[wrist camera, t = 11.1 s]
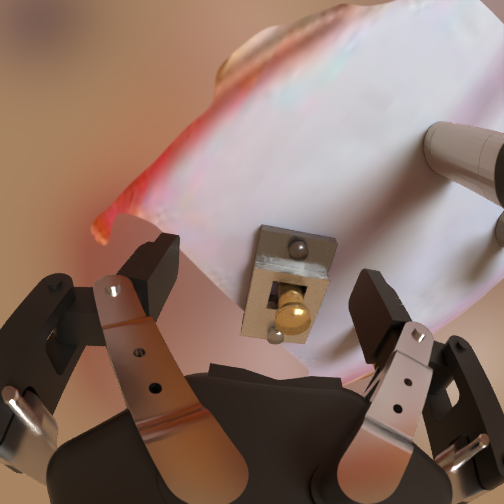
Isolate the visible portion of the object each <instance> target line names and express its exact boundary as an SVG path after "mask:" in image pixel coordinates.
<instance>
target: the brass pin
mask: <svg viewBox="0 0 504 504" xmlns="http://www.w3.org/2000/svg"><path fill="white" fill-rule="evenodd" d="M278 302H279V308H278V309H277V311H276V313H275V326H276V328H277V330H278V331H279V332H281V333H283V334H285V335H298V334H301V333H303V332H305V331H306V330H307V329H308V328H309V327H310V324H311V317H310V312H309V309H308V308H307V307H306V306H305V305H304V299H303V293H302V287H301V285H297V284H290V283H284V282H278Z"/></svg>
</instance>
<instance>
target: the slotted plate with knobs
mask: <svg viewBox="0 0 504 504" xmlns="http://www.w3.org/2000/svg"><path fill="white" fill-rule="evenodd" d="M337 245H338V243H337V241H336V239H335V238H330V237H325V236H320V235H315V234H310V233H305V232H300V231H295V230H289V229H284V228H279V227H273V226H268V225H262V227H261V232H260V237H259V242H258V246H257V251H256V256H255V261H254V266H253V271H252V276H251V281H250V286H249V291H248V296H247V302H246V308H245V313H244V315H243V322H242V328H241V335H242V336H248V337H255V338H261V339H267V340H268V342H269V343H271V344H280V343H282V342H291V343H299V344H305V342H306V340H307V337H308V335H309V333H310V330H311V328H312V325H313V323H314V320H315V318H316V316H317V313H318V310H319V308H320V305H321V303H322V300H323V298H324V295H325V292H326V290H327V287H328V284H329V282H330V279H329V276H328V272H329V269H330V266H331V263H332V260H333V257H334V254H335V251H336V248H337ZM273 281H278V282H284V283H290V284H297V285H301V287H302V293H303V299H304V305H305V306H306V307H307V308H308V309H309V312H310V317H311V324H310V327H309V328H308V329H307V330H306V331H305V332H303V333H301V334H298V335H285V334H283V333H281V332H279V331H278V330H277V328H276V326H275V313H276V311H277V309H278V308H279V302H278V296H275V295H270V291H271V287H272V283H273Z"/></svg>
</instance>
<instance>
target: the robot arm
mask: <svg viewBox="0 0 504 504" xmlns="http://www.w3.org/2000/svg"><path fill="white" fill-rule="evenodd" d="M424 154H425V158H426V161H427V163H428V165H429V166H430V167H431V169H432V170H433V171H435V172H436V173H438V174H440V175H442V176H444V177H446V178H448V179H450V180H452V181H454V182H456V183H458V184H460V185H462V186H464V187H466V188H468V189H470V190H472V191H474V192H476V193H477V194H479V195H481V196H483V197H485V198H486V199H488V200H490V201H492V202H494V203H495V204H497V205H499V206H500V207H502V208H504V133H501V132H497V131H492V130H488V129H483V128H478V127H473V126H468V125H463V124H457V123H451V122H437V123H435V124H434V125H432V126H431V127H430V128H429V130H428V131H427V133H426V136H425V139H424ZM179 247H180V237H179V235H174V234H169V233H161V234H160V235H159V237H158V238H157V239H156V240H155V242H147V243H145V244H143V245H141V246H139V247H138V249H137V250H136V251H135V252H134V254H132V256H131V257H130V259H128V260H127V262H126V263H125V264H124V265H123V266H122V268H121V269H120V270H119V271H118V273H117V274H116V275H107V276H104V277H102V278H100V279H98V280H97V281H96V282H95V283H94V286H93V287H74V286H73V281H72V278H71V277H70V276H69V275H67V274H63V273H56V274H52V275H49V276H47V277H45V278H43V279H42V280H41V281H40V282H39V283H38V284H37V286H36V287H35V288H34V289H33V290H32V291H31V293H29V295H28V296H27V297H26V298H25V299H24V300H23V302H22V303H21V304H20V305H19V306H18V308H17V309H16V310H15V311H14V312H13V314H12V315H11V316H10V317H9V319H8V320H7V321H6V323H5V324H4V325H3V327H2V328H1V329H0V463H1V464H4V465H5V466H7V467H8V468H10V469H11V470H13V471H14V472H16V473H24V474H26V475H27V476H29V477H31V478H33V479H34V480H36V481H38V482H39V483H41V484H43V485H45V486H47V490H48V494H49V498H50V503H51V504H467V503H469V502H471V501H473V500H475V499H477V498H479V497H480V496H482V495H484V494H486V493H487V492H489V491H491V490H493V489H495V488H496V487H498V486H500V485H501V484H503V483H504V414H503V411H502V409H501V406H500V404H499V402H498V399H497V397H496V395H495V393H494V391H493V389H492V386H491V384H490V382H489V380H488V378H487V376H486V374H485V372H484V370H483V368H482V366H481V364H480V362H479V360H478V358H477V356H476V355H475V353H474V351H473V349H472V347H471V346H470V345H469V343H468V342H467V341H466V340H464V339H463V338H461V337H459V336H455V335H453V336H451V337H450V338H449V340H448V341H447V342H446V344H443V343H439V342H437V341H434V339H433V335H432V333H431V332H430V330H429V329H428V328H427V327H425V326H424V325H422V324H420V323H418V322H414V321H412V320H411V318H410V316H409V314H408V312H407V311H406V309H405V307H404V305H402V302H401V300H400V299H399V297H398V295H397V293H396V292H395V290H394V289H393V288H392V287H391V286H390V285H388V284H387V283H386V281H385V280H384V278H383V276H382V275H381V273H380V272H379V271H376V270H370V269H365V268H364V269H362V270H361V272H360V274H359V277H358V279H357V282H356V284H355V286H354V289H353V291H352V293H351V296H350V299H349V312H350V315H351V318H352V320H353V323H354V326H355V329H356V332H357V335H358V338H359V342H360V345H361V348H362V351H363V354H364V357H365V361H366V364H378V367H377V369H376V370H375V372H374V373H373V375H372V377H371V379H370V381H369V382H368V384H367V386H366V388H365V389H364V391H363V393H362V394H361V395H359V394H358V393H356V392H354V391H352V390H349V389H346V388H343V387H342V382H341V378H333V377H316V376H309V377H302V378H295V379H287V380H276V379H273V378H270V377H267V376H264V375H261V374H258V373H254V372H252V371H249V370H246V369H242V368H236V367H230V366H224V365H218V364H212V363H210V367H209V372H208V373H196V374H191V375H186V376H183V374H182V372H181V370H180V368H179V367H178V365H177V363H176V361H175V360H174V358H173V356H172V354H171V352H170V350H169V348H168V346H167V344H166V343H165V341H164V339H163V337H162V335H161V333H160V331H159V329H158V327H157V325H156V321H157V319H158V317H159V315H160V312H161V310H162V308H163V306H164V304H165V302H166V300H167V298H168V296H169V294H170V292H171V290H172V288H173V286H174V283H175V281H176V279H177V275H178V267H179ZM52 331H53V332H52ZM51 332H52V334H51ZM50 334H51V335H50ZM49 335H50V337H49ZM48 337H49V338H48ZM47 338H48V340H47ZM86 345H88V346H106V348H107V351H108V354H109V358H110V361H111V364H112V368H113V371H114V374H115V376H116V379H117V382H118V385H119V388H120V391H121V394H122V396H123V399H124V402H125V404H126V407H127V409H125V410H124V411H122V412H120V413H118V414H117V415H115V416H113V417H112V418H110V419H108V420H106V421H104V422H103V423H101V424H99V425H97V426H96V427H94V428H92V429H90V430H88V431H86V432H84V433H82V434H80V435H79V436H77V437H75V438H73V439H71V440H69V441H67V442H66V443H64V444H62V445H61V446H60V447H59V448H57V435H58V426H57V423H56V420H55V419H54V417H53V413H54V411H55V409H56V407H57V404H58V402H59V400H60V398H61V395H62V393H63V391H64V389H65V387H66V384H67V382H68V380H69V378H70V376H71V374H72V372H73V370H74V368H75V366H76V364H77V362H78V360H79V358H80V356H81V354H82V352H83V350H84V349H85V347H86ZM453 380H455V382H456V385H457V388H458V390H459V394H460V395H459V400H458V402H457V404H456V405H455V406H454V407H453V408H452V405H451V403H450V399H449V397H448V394H447V391H446V388H447V387H448V386H449V384H450V383H451V382H452V381H453ZM421 413H422V415H423V418H424V422H425V426H426V430H427V434H428V437H429V442H430V446H431V450H432V455H433V459H434V460H433V459H431V458H430V457H429V456H428V455H427V454H426V453H425V452H424V451H422V450H421V449H420V448H419V447H418V446H417V445H416V444H415V443H414V442H413V441H412V439H413V436H414V433H415V431H416V428H417V425H418V422H419V419H420V416H421Z"/></svg>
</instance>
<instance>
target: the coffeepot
mask: <svg viewBox="0 0 504 504" xmlns="http://www.w3.org/2000/svg"><path fill="white" fill-rule="evenodd" d="M495 235H496V239H497V241H498V243H499V245H500V246H502V247H504V212H503V213H502V214H501V216H500V218H499V220H498V222H497V226H496V234H495Z"/></svg>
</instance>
